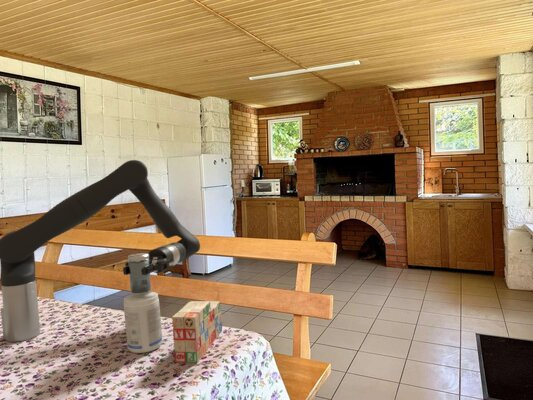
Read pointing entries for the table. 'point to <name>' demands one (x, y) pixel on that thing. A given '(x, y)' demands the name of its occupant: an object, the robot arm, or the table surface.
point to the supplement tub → (142, 322)
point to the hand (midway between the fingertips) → (134, 271)
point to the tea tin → (139, 273)
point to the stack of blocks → (195, 330)
